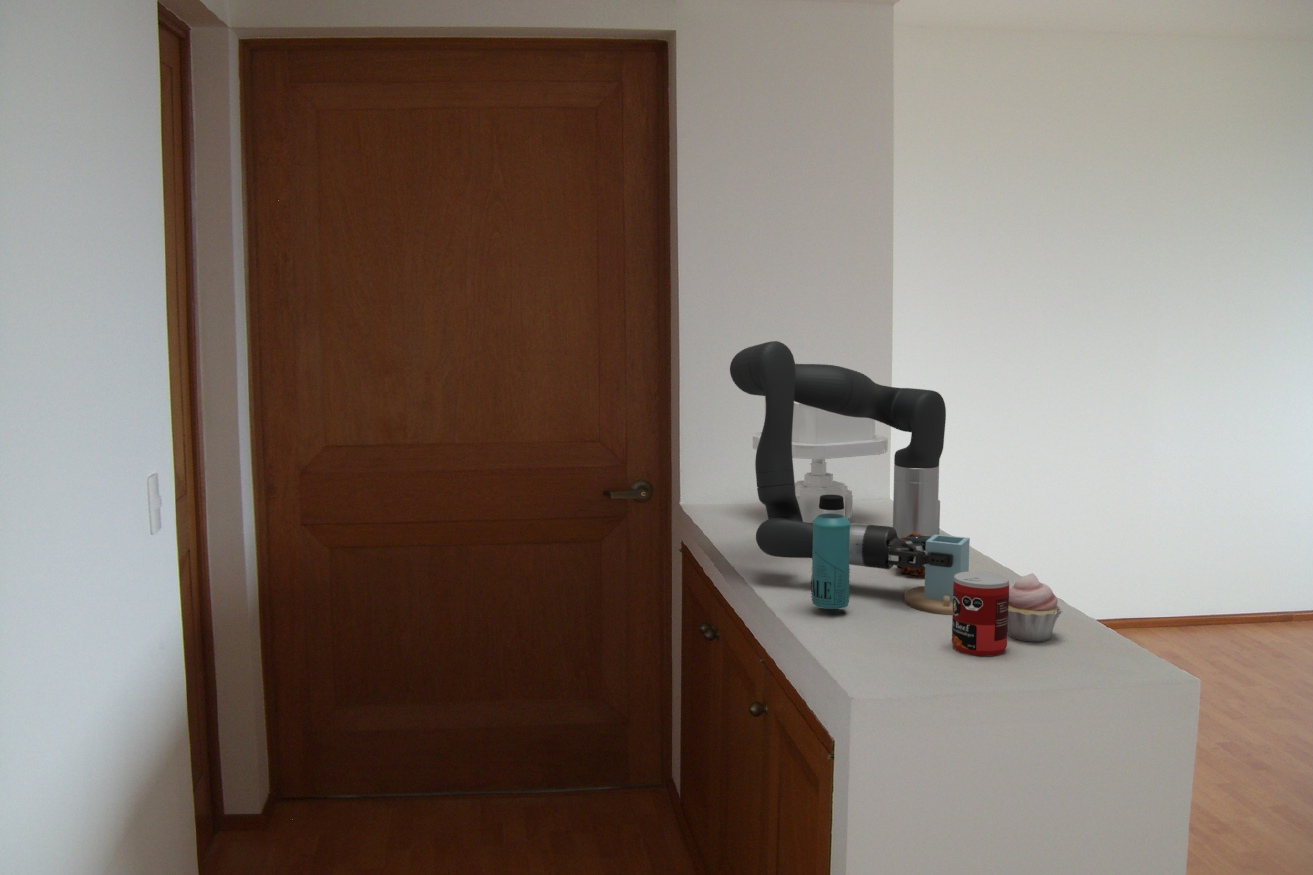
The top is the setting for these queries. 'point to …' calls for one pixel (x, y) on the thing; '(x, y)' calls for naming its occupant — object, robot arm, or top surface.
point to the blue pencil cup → (943, 577)
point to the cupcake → (1032, 610)
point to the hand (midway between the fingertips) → (958, 555)
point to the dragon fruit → (909, 569)
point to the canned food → (980, 613)
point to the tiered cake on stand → (827, 453)
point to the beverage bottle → (830, 556)
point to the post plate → (927, 602)
